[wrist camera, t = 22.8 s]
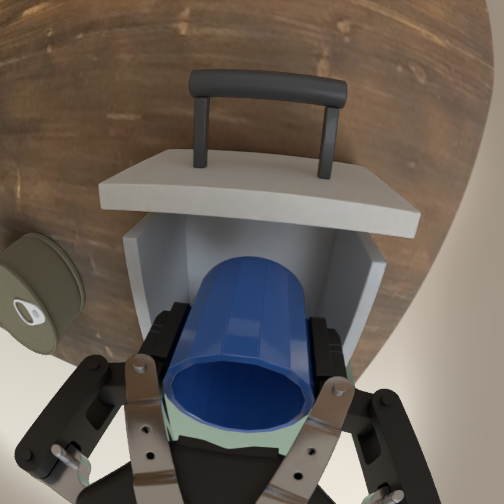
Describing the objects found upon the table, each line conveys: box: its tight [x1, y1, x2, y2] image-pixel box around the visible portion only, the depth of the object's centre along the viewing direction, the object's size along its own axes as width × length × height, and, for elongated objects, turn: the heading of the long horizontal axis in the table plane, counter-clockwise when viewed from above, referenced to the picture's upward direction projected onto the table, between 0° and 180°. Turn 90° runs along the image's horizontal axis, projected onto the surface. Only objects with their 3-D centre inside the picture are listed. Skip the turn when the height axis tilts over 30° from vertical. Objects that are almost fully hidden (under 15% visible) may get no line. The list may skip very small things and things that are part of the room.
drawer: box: [98, 69, 421, 367], centre depth 17 cm, size 20×14×9 cm
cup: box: [162, 256, 315, 433], centre depth 12 cm, size 6×6×6 cm
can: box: [0, 233, 85, 355], centre depth 24 cm, size 12×12×7 cm
